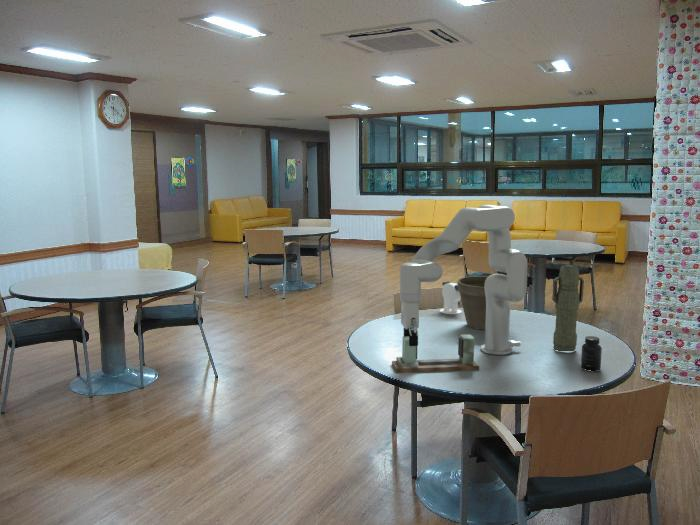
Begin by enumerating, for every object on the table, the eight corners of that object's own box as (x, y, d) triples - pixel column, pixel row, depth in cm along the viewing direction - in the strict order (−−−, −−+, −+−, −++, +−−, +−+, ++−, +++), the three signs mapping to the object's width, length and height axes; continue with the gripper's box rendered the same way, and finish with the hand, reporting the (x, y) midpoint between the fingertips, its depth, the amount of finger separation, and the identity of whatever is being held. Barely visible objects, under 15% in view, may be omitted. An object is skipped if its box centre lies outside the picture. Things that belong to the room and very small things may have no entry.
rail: (471, 361, 227) (472, 332, 225) (479, 369, 218) (480, 339, 217) (391, 364, 224) (392, 335, 222) (396, 372, 215) (396, 342, 213)
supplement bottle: (584, 364, 224) (586, 334, 222) (602, 368, 220) (605, 337, 218) (578, 369, 219) (580, 338, 217) (597, 373, 215) (599, 341, 213)
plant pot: (501, 336, 261) (503, 288, 258) (448, 328, 274) (449, 282, 270) (516, 323, 283) (518, 279, 279) (466, 317, 295) (467, 274, 292)
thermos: (545, 347, 246) (550, 264, 240) (572, 346, 247) (577, 263, 242) (555, 353, 237) (560, 267, 231) (583, 352, 239) (589, 267, 233)
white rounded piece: (467, 312, 304) (468, 284, 301) (450, 315, 298) (451, 286, 295) (451, 307, 314) (452, 280, 311) (435, 310, 308) (435, 282, 306)
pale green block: (414, 361, 223) (414, 336, 221) (417, 366, 218) (417, 340, 216) (402, 362, 222) (402, 336, 220) (404, 366, 217) (405, 340, 216)
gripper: (395, 292, 224) (396, 335, 227) (405, 302, 207) (405, 349, 210) (415, 291, 225) (415, 334, 228) (426, 301, 208) (426, 348, 211)
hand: (410, 341), depth 219 cm, fingers open, 9 cm apart
